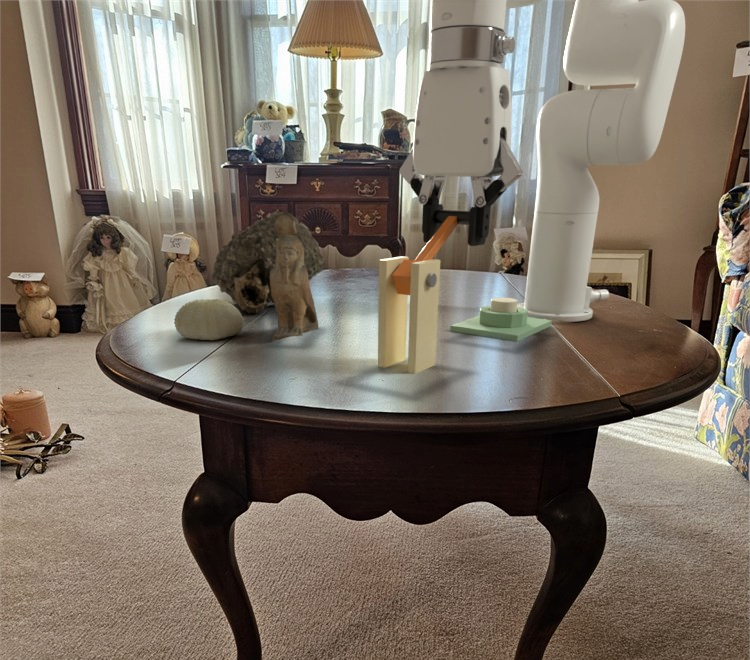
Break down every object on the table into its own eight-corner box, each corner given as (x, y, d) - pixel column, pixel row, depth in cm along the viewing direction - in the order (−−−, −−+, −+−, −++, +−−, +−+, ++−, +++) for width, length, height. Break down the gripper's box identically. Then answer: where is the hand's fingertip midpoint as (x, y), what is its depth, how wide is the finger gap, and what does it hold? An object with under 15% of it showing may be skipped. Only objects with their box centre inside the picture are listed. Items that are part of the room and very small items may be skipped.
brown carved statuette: (304, 365, 88) (292, 227, 77) (265, 362, 89) (248, 224, 78) (324, 328, 97) (316, 199, 86) (288, 326, 98) (276, 198, 87)
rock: (281, 195, 112) (266, 179, 98) (337, 262, 116) (332, 256, 101) (206, 271, 116) (182, 266, 102) (263, 333, 119) (248, 337, 105)
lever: (441, 222, 77) (437, 203, 75) (479, 224, 74) (476, 204, 72) (386, 292, 71) (380, 274, 70) (425, 297, 69) (420, 278, 67)
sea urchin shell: (174, 315, 95) (210, 274, 93) (217, 352, 98) (252, 314, 96) (161, 328, 87) (200, 284, 85) (208, 369, 90) (246, 327, 88)
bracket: (401, 360, 81) (404, 251, 76) (465, 372, 77) (474, 257, 71) (343, 383, 73) (341, 261, 67) (411, 398, 68) (416, 269, 62)
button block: (487, 326, 100) (489, 299, 98) (550, 335, 95) (553, 307, 93) (449, 341, 91) (451, 312, 89) (516, 352, 86) (519, 321, 84)
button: (497, 309, 93) (498, 296, 93) (520, 312, 92) (521, 299, 91) (485, 313, 91) (486, 300, 90) (509, 316, 89) (511, 303, 88)
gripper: (558, 53, 66) (536, 245, 74) (414, 65, 74) (408, 236, 83) (528, 42, 60) (508, 251, 68) (376, 56, 69) (375, 241, 77)
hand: (454, 241), depth 75 cm, fingers open, 5 cm apart
